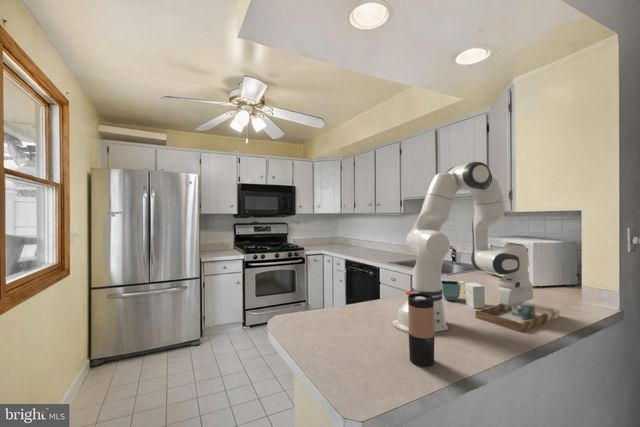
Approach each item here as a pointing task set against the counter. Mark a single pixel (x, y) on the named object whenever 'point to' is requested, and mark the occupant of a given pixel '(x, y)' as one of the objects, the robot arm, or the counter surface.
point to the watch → (463, 283)
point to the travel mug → (421, 329)
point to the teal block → (525, 311)
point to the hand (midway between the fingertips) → (517, 312)
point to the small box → (475, 295)
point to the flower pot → (450, 290)
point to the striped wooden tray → (522, 326)
